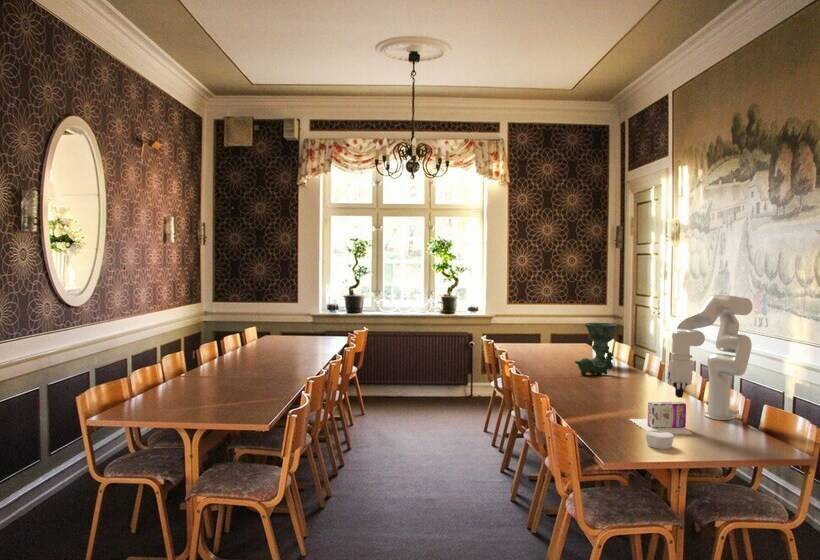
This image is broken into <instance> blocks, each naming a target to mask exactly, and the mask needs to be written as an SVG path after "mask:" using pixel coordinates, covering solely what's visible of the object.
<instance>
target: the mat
mask: <svg viewBox="0 0 820 560" xmlns="http://www.w3.org/2000/svg"><path fill="white" fill-rule="evenodd" d="M629 420H630V421H629ZM628 421H629V422H631V421H632V422H633V423H632V422H631V423H632V424H634V423H635V424H636V425H635V424H634V425H635V426H637V425H638V426H639V428H640V427H641V428H642V430H643V429H644V430H645V431H644V430H643V431H644V432H646V431H651V430H656V431H664V432H668V433H671V434H673V435H693V433H692V432H691V431H689V430H687V429H686V428H652V427H650V426H648V418H629V419H628ZM638 426H637V427H638ZM641 428H640V429H641Z"/></svg>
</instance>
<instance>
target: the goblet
mask: <svg viewBox="0 0 820 560" xmlns="http://www.w3.org/2000/svg"><path fill="white" fill-rule="evenodd" d="M584 326H585V327H586V329H587V333H588V336H587V337H588V338H589V340H590V341H592V342H593V344H592V346H591V349H592V350H593V351H594V353H595V357H594V358H591V359H590V360H591V361H592V362H593V363H594V364H596V365H600V366H602V365H603V364H604V363H605V360H606V356H605V355H606V353H605V352H604V351H602V352H600V351H601V350H602V349H608V350H610V346H609V342H611V341H613V339H614V333H615V331H616V329H617V328H618V326H619V325H618V324H615V323H611V322H587V323H585V324H584ZM610 367H612V368H613V367H614V365H613V364H611V365H610Z"/></svg>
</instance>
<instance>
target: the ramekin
mask: <svg viewBox="0 0 820 560" xmlns="http://www.w3.org/2000/svg"><path fill="white" fill-rule="evenodd" d="M645 439H646V444H647V446H648V445H649V446H648V447H650V448H652V447H653V448H652V449H656V448H658V449H657V450H669V449H671V448H672V446H673V442H674V439H675V434H671V433H668V432H664V431H656V430H651V431H645Z"/></svg>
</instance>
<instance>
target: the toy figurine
mask: <svg viewBox="0 0 820 560" xmlns="http://www.w3.org/2000/svg"><path fill="white" fill-rule="evenodd" d="M609 350H610V349H609ZM609 350H608V349H602V350H601V351H600V352H602V351H604V352H605V354H606V356H605V358H606V360H605V363H604V364H603V365H602V366H600V365H596V364H594V363H593V362H592V361H591V359H590V358H587V357H585V358H582V359H580V360H575V361H574V363H575V364H576V365H578V369H579V370H580V374H581V376H585V375H586V374H588V373H589V374H590V375H592V376H596V375H598V376H600V377H601V376H602V375H603V374H604V375H607V374H608V370H612V368H613V367H610V365H611V364H613V362H612V361H613V359H614V358H613V356H614V353H613V352H611V351H609Z"/></svg>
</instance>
